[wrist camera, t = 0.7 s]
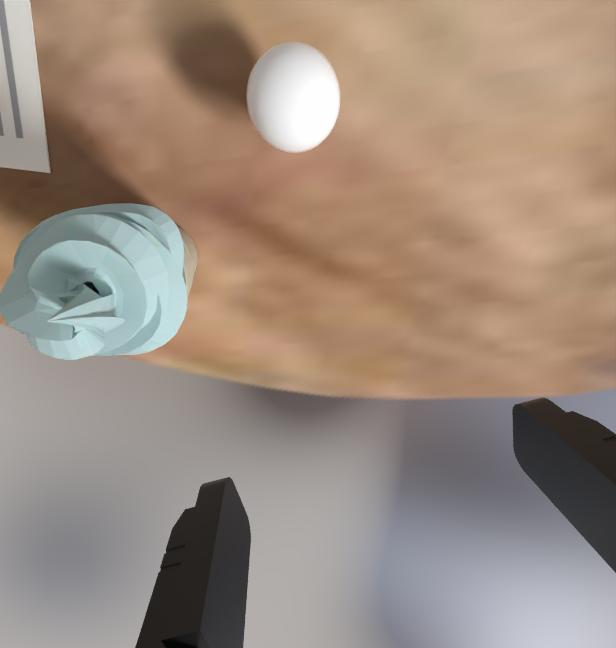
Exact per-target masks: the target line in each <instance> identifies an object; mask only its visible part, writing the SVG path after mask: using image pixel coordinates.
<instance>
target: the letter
mask: <svg viewBox="0 0 616 648" xmlns="http://www.w3.org/2000/svg"><path fill="white" fill-rule="evenodd" d="M0 167H3V168H12V169H20V170H28V171H37V172H45V173H51V169H50V161H49V153H48V144H47V136H46V128H45V119H44V111H43V103H42V95H41V86H40V78H39V70H38V62H37V53H36V45H35V37H34V28H33V20H32V12H31V4H30V0H0Z"/></svg>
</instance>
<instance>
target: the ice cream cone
mask: <svg viewBox="0 0 616 648" xmlns="http://www.w3.org/2000/svg"><path fill="white" fill-rule="evenodd" d="M197 260H198V256H197V250H196V247H195V244H194V242H193V241H192V239H191V237H190V236H189V235H188V234H187V233H186V232H185V231H184V230H183V229H182V228H180V227H178V226H177V225H176V224H175V223H174V221H173V220H172V219H171V218H170V217H169V216H167V215H166V214H165V213H164V212H162V211H160V210H158V209H157V208H155V207H153V206H147V205H140V204H134V203H123V204H103V205H97V206H91V207H84V208H78V209H72V210H69V211H66V212H63V213H60V214H57V215H54V216H52V217H50V218H48V219H46V220H44V221H42V222H41V223H39V224H38V225H37V226H36V227H35V228H33V229H32V230H31V231H30V232H29V233H28V235H27V236H26V237H25V238H24V239H23V240H22V241H21V243H20V245H19V247H18V249H17V252H16V255H15V258H14V265H13V266H14V270H13V271H12V273H11V274H10V276H9V277H8V279H7V281H6V283H5V285H4V287H3V289H2V292H1V294H0V313H1V314H2V316H3V318H4V320H5V321H6V323H7V325H9V326H11V327H13V328H14V329H16V330H18V331H20V332H21V333H23V334H27V335H28V339H29V342H30V343H31V344H32V345H33V346H34V347H35V348H36V349H37V350H38V351H39V352H41V353H44V354H46V355H48V356H51V357H54V358H59V359H67V360H75V359H79V358H83V357H87V356H91V355H108V356H113V355H135V354H140V353H146V352H150V351H152V350H154V349H156V348H158V347H161V346H163V345H164V344H165V343H167V342H168V341H169V340H170V339H171V338H172V337H173V336H174V335H176V333H177V331H178V329H179V327H180V325H181V323H182V322H183V320H184V318H185V314H186V309H187V297H188V295H189V293H190V290H191V286H192V282H193V275H194V272H195V270H196V267H197Z"/></svg>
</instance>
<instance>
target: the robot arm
mask: <svg viewBox="0 0 616 648" xmlns="http://www.w3.org/2000/svg"><path fill="white" fill-rule="evenodd" d="M513 442H514V443H513V446H514V453H515V456H516V458H517V460H518V462H519V464H520V466H521V467H522V469H523V470H524V472H525V473H526V474H527V475H528V476H529V477H530V478H531V479H532V480H533V482H535V484H536V485H537V486H538V487H539V488H540V489H541V491H542V492H543V493H544V494H545V495H546V496H547V497H548V498H549V499H550V500H551V502H552V503H553V504H554V505H555V506H556V507H557V508H558V509H559V510H560V511H561V513H562V514H563V515H564V516H565V517H566V518H567V519H568V520H569V522H570V523H571V524H572V525H573V526H574V527H575V528H576V529H577V530H578V532H579V533H580V534H581V535H582V536H583V537H584V538H585V539H586V540H587V541H588V543H589V544H590V545H591V546H592V547H593V548H594V549H595V550H596V551H597V552H598V554H599V555H600V556H601V557H602V558H603V559H604V560H605V561H606V563H607V564H608V565H609V566H610V567H611V568H612V569H613V570H614V571H615V572H616V434H615V433H613V432H612V431H610V430H609V429H607V428H606V427H605V426H603V425H602V424H600V423H599V422H597V421H595V420H593V419H590V418H588V417H585V416H583V415H580V414H578V413H576V412H573V411H571V412H567V413H566V412H565V411H563V410H562V409H561V408H559V407H558V406H557V405H555V404H554V403H553V402H551V401H550V400H548V399H546V398H539V399H535V400H531V401H528V402H523V403H520V404H516V405H515V406H514V407H513ZM250 543H251V533H250V525H249V520H248V516H247V514H246V511H245V509H244V506H243V504H242V502H241V499H240V497H239V494H238V492H237V490H236V487H235V485H234V483H233V480H232V479H231V478H230V477H228V478H224V479H220V480H216V481H212V482H208V483H204V484H202V485H201V487H200V490H199V494H198V498H197V502H196V506H195V507H193V508H189V509H185V511H184V512H183V514H182V515H181V517H180V518H179V520H178V521H177V523H176V524H175V526H174V527H173V529H172V531H171V535H170V538H169V541H168V545H167V548H166V554H164V557H163V561H162V564H161V567H160V568H161V571H160V572H159V573H158V577H157V580H156V583H155V586H154V590H153V593H152V596H151V599H150V602H149V606H148V609H147V612H146V616H145V619H144V622H143V625H142V629H141V632H140V635H139V638H138V641H137V644H136V647H135V648H243V641H244V627H245V613H246V599H247V585H248V570H249V556H250Z"/></svg>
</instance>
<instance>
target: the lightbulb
mask: <svg viewBox="0 0 616 648" xmlns="http://www.w3.org/2000/svg"><path fill="white" fill-rule="evenodd" d="M247 107H248V112H249V115H250V118H251V121H252V123H253V125H254V127H255V129H256V130H257V132H258V133H259V135H260V136H261V137H262V138H263V139H264V140H265V141H266V142H267V143H268V144H270V145H271V146H273V147H274V148H276V149H278V150H281V151H284V152H289V153H300V152H305V151H308V150H310V149H313V148H314V147H316V146H318V145H319V144H320V143H321V142H323V141H324V140H325V139H326V138H327V136H328V135H329V134H330V132H331V131H332V129H333V127H334V125H335V123H336V120H337V117H338V114H339V109H340V88H339V83H338V79H337V76H336V74H335V71H334V69H333V67H332V65H331V64H330V62H329V61H328V60H327V58H326V57H325V56H324V55H323V54H322V53H321V52H320V51H319V50H317V49H316V48H314V47H313V46H311V45H309V44H306V43H303V42H298V41H287V42H282V43H279V44H277V45H274V46H273V47H271V48H269V49H268V50H267V51H265V52H264V53H263V54H262V55H261V56H260V58H259V59H258V60H257V62H256V63H255V65H254V66H253V68H252V71H251V73H250V76H249V80H248V84H247Z"/></svg>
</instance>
